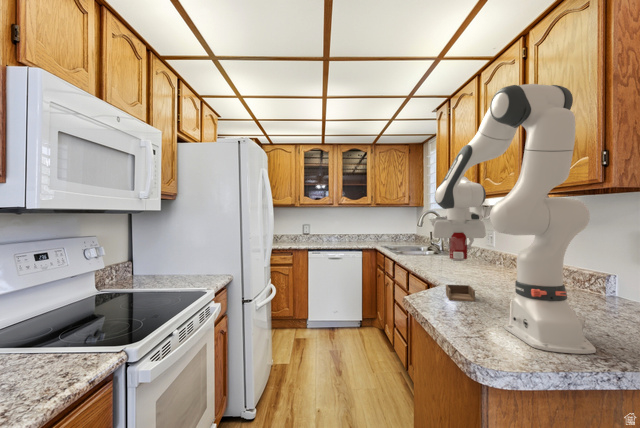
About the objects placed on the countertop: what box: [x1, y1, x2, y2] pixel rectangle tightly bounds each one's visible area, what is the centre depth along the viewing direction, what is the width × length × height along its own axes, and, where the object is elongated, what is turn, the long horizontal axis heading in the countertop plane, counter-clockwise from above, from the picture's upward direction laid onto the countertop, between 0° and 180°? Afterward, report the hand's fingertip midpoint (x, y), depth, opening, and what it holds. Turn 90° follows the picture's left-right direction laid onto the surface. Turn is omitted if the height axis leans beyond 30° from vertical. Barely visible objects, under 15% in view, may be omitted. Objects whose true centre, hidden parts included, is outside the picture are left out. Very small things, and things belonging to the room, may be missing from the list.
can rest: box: [445, 284, 476, 302], centre depth 130 cm, size 10×10×4 cm
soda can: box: [448, 232, 468, 262], centre depth 130 cm, size 7×7×12 cm
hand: (458, 249), depth 130 cm, fingers closed on soda can, 6 cm apart
